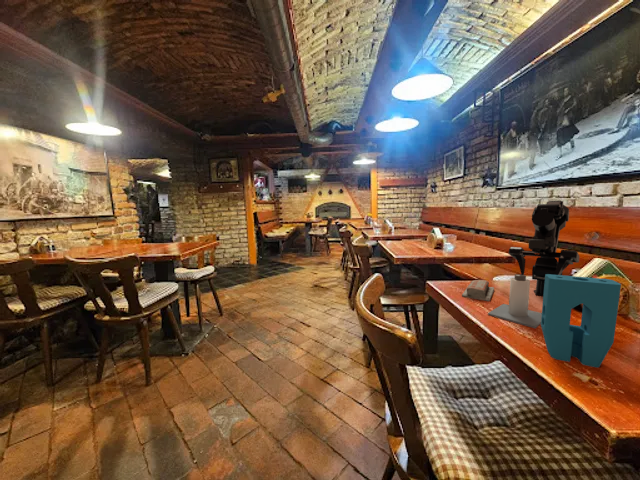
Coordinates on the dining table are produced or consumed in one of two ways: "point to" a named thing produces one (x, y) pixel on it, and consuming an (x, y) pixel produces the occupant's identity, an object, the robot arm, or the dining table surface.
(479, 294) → the packaged product
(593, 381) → the dining table surface
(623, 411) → the dining table surface
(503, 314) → the felt mat
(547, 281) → the block
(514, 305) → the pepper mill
